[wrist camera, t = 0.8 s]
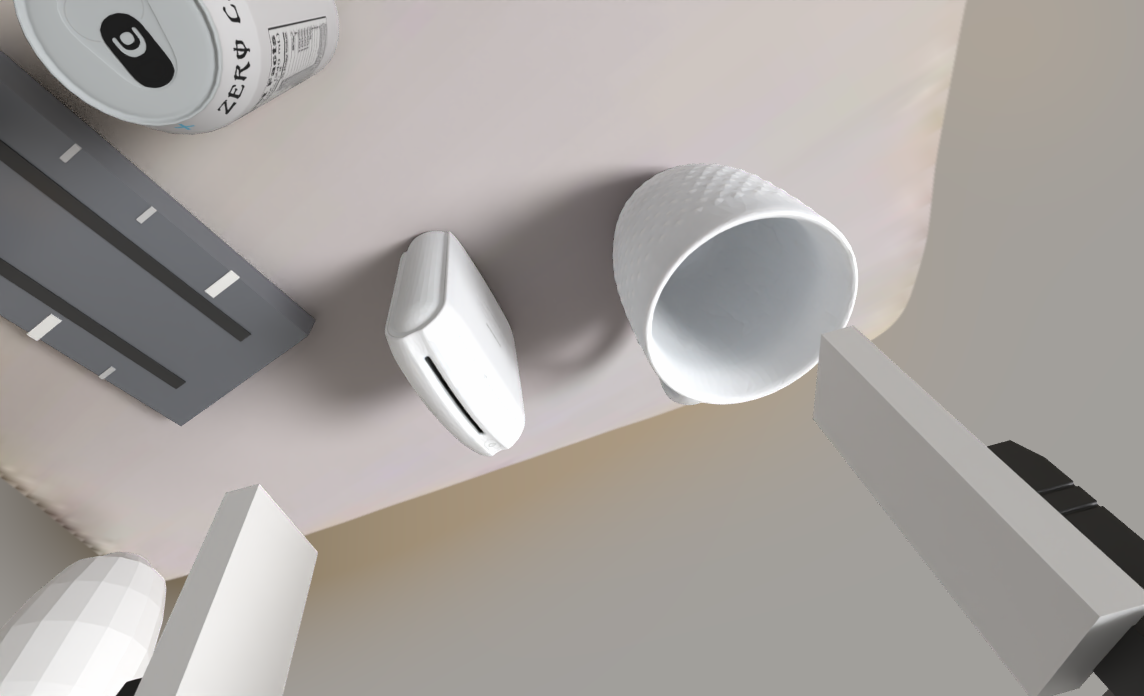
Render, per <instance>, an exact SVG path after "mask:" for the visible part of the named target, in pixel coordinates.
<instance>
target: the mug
mask: <svg viewBox="0 0 1144 696" xmlns="http://www.w3.org/2000/svg"><path fill="white" fill-rule="evenodd" d="M612 258H613V261H614V263H613V269H614V272H615V276H614V279H615V281H616V284H617V291H618V293H619V295H620V298H621V304H622V305H623V307H624V309H625V314H626V316H627V318H628V319H629V321H630V324H631V328H632V330H633V331H634V333H635V335H636V337H637V341H638V343H639V344H640V346H641V347H642V349H643V351H644V353H645V355H646V357H647V359H648V361H649V363H650V365H651V366H652V368H653V370H654V371H655V373H656V374H657V375H658V377H659V379H660V382H661V385H662V387H663V389H664V391H665V393H666V394H667V396H668V397H669V398H670V399H671V400H673V401H674V402H676V403H679V404H685V405H694V404H699V403H701V402H703V403H711V404H733V403H740V402H746V401H750V400H755V399H758V398H760V397H764V396H766V395H769V394H771V393H774V392H776V391H778V390H780V389H782V388H784V387H786V386H787V385H789V384H791V383H793V382H794V381H795V380H797V379H798V378H800V377H801V376H803V375H804V374H805V373H807V372H808V371H809V370H810V369H812V368H813V367H814V366H815V365H816V364H817V363H818V362H819V351H820V341H821V334H824V333H827V332H831V331H835V330H839V329H842V328H845V327H846V325H847V323H848V321H849V318H850V315H851V313H852V310H853V306H854V304H855V299H856V294H857V287H858V270H857V264H856V259H855V256H854V253H853V251H852V248H851V246H850V244H849V243H848V241H847V240H846V238H845V237H844V236H843V234H842V233H841V232H840V231H839V230H838V229H837V228H836V227H835V226H834V225H833V224H831V223H830V222H829V221H828V220H826V219H825V218H823V217H822V216H820V215H819V214H817V213H816V212H814V211H813V210H812V209H811V208H810V207H809V206H806V205H804V204H803V203H802V202H800V201H799V200H798V199H797V198H795V197H793V196H791V195H789V194H787V193H786V192H785V191H784V190H783V189H780V188H778V187H776V186H774V185H773V184H772V183H771V182H769V181H766V180H763V179H761V178H760V177H758V176H757V175H755V174H750V173H747V172H746V171H744V170H743V169H735V168H733V167H730V166H721V165H718V164H704V163H700V164H688V165H685V166H684V165H682V166H677V167H675V168H670V169H667V170H665V171H664V172H661V173H658V174H656V175H655V176H654V177H652V178H651V179H649V180H647V181H645V182H644V183H643V184H642V185H641V186H640V187H639V188H638V189H636V190H635V191H634V193H633V195H632V196H631V197H630V198H629V199H628V200H627V201H626V203H625V206H624V208H623V209H622V211H621V213H620V214H619V220H618V221H617V223H616V230H615V234H614V242H613V255H612Z"/></svg>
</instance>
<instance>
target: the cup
mask: <svg viewBox="0 0 1144 696" xmlns="http://www.w3.org/2000/svg"><path fill="white" fill-rule="evenodd" d="M165 585H166V584H165V579H164V578H163V577H162V576H161V575H160V574H159V573H158V572H157V571H156V570H155V569H153V567H152V565H151V564H150V562H149V561H148V560H147V559H145V558H143V557H142V556H140V555H137V554H133V553H129V552H115V553H110V554H106V555H104V556H97V557H92V558H86V559H81V560H79V561H77V562H75V563H73V564H71V565H70V566H68V567H66V568H65V569H64V570H63V571H61V572H60V573H59V574H58V575H56V576H55V577H54V578H53V579H52V580H50V581H49V582H48V583H47V584H46V585H44V586H43V587H42V588H41V589H39V590H38V591H37V592H36V593H34V594H33V595H32V596H31V597H30V598H29V599H28V600H27V601H26V602H25V604H24V605H23V606H22V607H21V608H20V609H19V610H18V611H17V612H16V613H15V614H14V615H13V616H12V617H11V618H10V619H9V620H8V621H7V622H6V623H5V624H4V626H3V627H2V628H1V629H0V696H116V695H117V693H118V692H119V691H120V689H121V688H122V687H123V686H124V684H125V683H126V682H128V681H131V680H135V679H139V678H142V677H143V675H144V673H145V671H146V668H147V666H148V664H149V662H150V660H151V657H152V655H153V652H154V649H155V645H156V642H157V639H158V635H159V632H160V628H161V625H162V622H163V614H164V605H165V596H166V586H165Z"/></svg>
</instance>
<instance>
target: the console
mask: <svg viewBox="0 0 1144 696" xmlns="http://www.w3.org/2000/svg"><path fill="white" fill-rule="evenodd" d="M0 315H1V316H3V317H4V318H6V319H7V320H9V321H11V322H12V323H14V324H16V325H17V326H19V327H20V328H22V329H24V330H25V331H27V332H29V333H28V334H26V335H28V336H29V337H31V338H33V339H34V340H36V341H38V340H39V339H40V340H42V341H43V342H45V343H46V344H48V345H50V346H51V347H53V348H55V349H56V350H58V351H59V352H61V353H63V354H64V355H66V356H68V357H69V358H71V359H72V360H74V361H76V362H77V363H79V364H81V365H82V366H84V367H85V368H87V369H89V370H90V371H92V372H94V373H95V374H97V375H98V377H99V378H100V379H102V380H103V379H105V380H107V381H108V382H110V383H111V384H113V385H115V386H116V387H118V388H120V389H121V390H123V391H124V392H126V393H128V394H129V395H131V396H133V397H134V398H136V399H138V400H139V401H141V402H142V403H144V404H146V405H147V406H149V407H151V408H152V409H154V410H155V411H157V412H159V413H160V414H162V415H164V416H165V417H167V418H168V419H170V420H172V421H173V422H175V423H177V424H178V425H180V426H182V425H184V424H185V423H186V422H188V421H189V420H191V419H192V418H193V417H195V416H196V415H198V414H199V413H200V412H202V411H203V410H205V409H206V408H207V407H209V406H210V405H212V404H213V403H214V402H216V401H217V400H219V399H220V398H221V397H223V396H224V395H226V394H227V393H228V392H230V391H231V390H233V389H234V388H235V387H237V386H238V385H240V384H241V383H242V382H244V381H245V380H247V379H248V378H249V377H251V376H252V375H254V374H255V373H256V372H258V371H259V370H261V369H262V368H263V367H265V366H266V365H268V364H269V363H270V362H272V361H273V360H275V359H276V358H277V357H279V356H280V355H282V354H283V353H284V352H286V351H287V350H289V349H290V348H291V347H293V346H294V345H296V344H297V343H298V342H300V341H301V340H303V339H304V338H305V337H307V336H308V335H309V333H310V330H311V328H312V326H313V324H314V322H315V319H314V318H312V317H311V316H310V315H309V314H308V313H307V312H305V311H304V310H303V309H302V308H301V307H300V306H298V305H297V304H296V303H295V302H294V301H293V300H291V299H290V298H289V297H288V296H287V295H286V294H284V293H283V292H282V291H281V290H280V289H279V288H277V287H276V286H275V285H274V284H273V283H272V282H270V281H269V280H268V279H267V278H266V277H265V276H263V275H262V274H261V273H260V272H259V271H257V270H256V269H255V268H254V267H253V266H252V265H250V264H249V263H248V262H247V261H246V260H245V259H243V258H242V257H241V256H240V255H239V254H238V253H236V252H235V251H234V250H233V249H232V248H231V247H229V246H228V245H227V244H226V243H225V242H224V241H222V240H221V239H220V238H219V237H218V236H217V235H215V234H214V233H213V232H212V231H211V230H210V229H208V228H207V227H206V226H205V225H204V224H203V223H201V222H200V221H199V220H198V219H197V218H196V217H194V216H193V215H192V214H191V213H190V212H189V211H187V210H186V209H185V208H184V207H183V206H182V205H180V204H179V203H178V202H177V201H176V200H175V199H173V198H172V197H171V196H170V195H169V194H168V193H166V192H165V191H164V190H163V189H162V188H160V187H159V186H158V185H157V184H156V183H155V182H153V181H152V180H151V179H150V178H149V177H148V176H146V175H145V174H144V173H143V172H142V171H141V170H139V169H138V168H137V167H136V166H135V165H134V164H132V163H131V162H130V161H129V160H128V159H127V158H125V157H124V156H123V155H122V154H121V153H120V152H118V151H117V150H116V149H115V148H114V147H113V146H111V145H110V144H109V143H108V142H107V141H106V140H104V139H103V138H102V137H101V136H100V135H99V134H97V133H96V132H95V131H94V130H93V129H92V128H90V127H89V126H88V125H87V124H86V123H85V122H83V121H82V120H81V119H80V118H79V117H78V116H76V115H75V114H74V113H73V112H72V111H71V110H69V109H68V108H67V107H66V106H65V105H64V104H62V103H61V102H60V101H59V100H58V99H56V98H55V97H54V96H53V95H52V94H51V93H49V92H48V91H47V90H46V89H45V88H44V87H42V86H41V85H40V84H39V83H38V82H37V81H35V80H34V79H33V78H32V77H31V76H30V75H28V74H27V73H26V72H25V71H24V70H23V69H21V68H20V67H19V66H18V65H17V64H16V63H14V62H13V61H12V60H11V59H10V58H9V57H7V56H6V55H5V54H4V53H3V52H2V51H0Z"/></svg>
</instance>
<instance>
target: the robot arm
mask: <svg viewBox="0 0 1144 696" xmlns="http://www.w3.org/2000/svg"><path fill="white" fill-rule="evenodd" d="M813 420H814V421H815V422H816V424H817V425H818V426H819V428H820V429H821V430H822V432H823V433H824V434H825V435H826V436H827V438H828V439H829V441H830V442H831V443H832V444H833V446H834V447H835V448H836V449H837V451H838V452H839V453H840V455H841V456H842V457H843V458H844V460H845V461H846V462H847V464H848V465H849V466H850V467H851V469H852V470H853V471H854V472H855V474H856V475H857V476H858V478H859V479H860V480H861V481H862V483H863V484H864V485H865V487H866V488H867V489H868V490H869V492H870V493H871V494H872V496H873V497H874V498H875V499H876V501H877V502H878V503H879V505H880V506H881V507H882V508H883V510H884V511H885V512H886V514H887V515H888V516H889V517H890V519H891V520H892V521H893V522H894V524H895V525H896V526H897V527H898V529H899V530H900V531H901V533H902V534H903V535H904V536H905V538H906V539H907V540H908V542H909V543H910V544H911V546H912V547H913V548H914V549H915V551H916V552H917V553H918V554H919V556H920V557H921V558H922V559H923V561H924V562H925V563H926V565H927V566H928V567H929V568H930V570H931V571H932V572H933V574H934V575H935V576H936V578H937V579H938V580H939V581H940V583H941V584H942V585H943V586H944V588H945V589H946V590H947V592H948V593H949V594H950V595H951V597H952V598H953V599H954V601H955V602H956V603H957V604H958V606H959V607H960V608H961V610H962V611H963V612H964V613H965V615H966V616H967V617H968V618H969V620H970V621H971V622H972V624H973V625H974V626H975V627H976V629H977V630H978V631H979V633H980V634H981V635H982V636H983V638H984V639H985V640H986V642H987V643H988V644H989V645H990V647H991V648H992V649H993V650H994V652H995V653H996V654H997V656H998V657H999V658H1000V659H1001V661H1002V662H1003V663H1004V665H1005V666H1006V667H1007V668H1008V670H1009V671H1010V672H1011V674H1012V675H1013V676H1014V677H1015V679H1016V680H1017V681H1018V682H1019V684H1020V685H1021V686H1022V688H1023V689H1024V690H1025V692H1026V693H1027V694H1028V695H1029V696H1053V695H1056V694H1060V693H1064V692H1067V691H1070V690H1074V689H1077V688H1079V687H1080V686H1081V685H1082V684H1083V683H1084V682H1085V681H1086V680H1087V678H1088V677H1089V676H1090V675H1091V674H1092V673H1093V672H1094V673H1095V674H1096V675H1097V676H1098V677H1099V678H1100V680H1101V681H1102V682H1103V683H1104V684H1105V685H1106V686H1107V687H1108V689H1109V690H1107V692H1105V693H1104V695H1103V696H1144V540H1143V539H1142V538H1140V537H1139V536H1138V535H1137V534H1136V533H1134V532H1133V531H1132V530H1131V529H1130V528H1128V527H1127V526H1126V525H1125V524H1124V523H1122V522H1121V521H1120V520H1119V519H1118V518H1116V517H1115V516H1114V515H1113V514H1112V513H1110V512H1109V511H1108V510H1107V509H1106V508H1105V507H1103V506H1101V507H1100V506H1099V505H1098V504H1097V501H1096V500H1095V499H1094V498H1092V497H1091V496H1090V495H1089V494H1088V493H1087V492H1085V491H1084V490H1083V489H1082V488H1081V487H1079V486H1075V485H1074V484H1073V481H1072V480H1071V479H1070V478H1069V477H1068V476H1066V475H1065V474H1064V473H1062V471H1060V470H1059V469H1058V468H1057V467H1056V466H1054V465H1053V464H1052V463H1051V462H1049V461H1048V460H1047V459H1046V458H1044V457H1043V456H1041V455H1039V454H1037V453H1035V452H1032V451H1031V450H1029V449H1026V448H1024V447H1023V446H1021V445H1019V444H1016V443H1015V442H1013V441H1011V440H1009V441H1006V442H1002V443H998V444H995V445H991V446H987V447H986V446H985V445H984V444H983V443H982V442H981V441H980V440H979V439H977V438H976V437H975V436H974V435H973V434H972V433H971V432H970V431H969V430H968V429H966V428H965V427H964V426H963V425H962V424H961V423H960V422H959V421H958V420H957V419H956V418H954V417H953V416H952V415H951V414H950V413H949V412H948V411H947V410H946V409H945V408H943V407H942V406H941V405H940V404H939V403H938V402H937V401H936V400H935V399H934V398H932V397H931V396H930V395H929V394H928V393H927V392H926V391H925V390H924V389H923V388H921V387H920V386H919V385H918V384H917V383H916V382H915V381H914V380H913V379H912V378H910V377H909V376H908V375H907V374H906V373H905V372H904V371H903V370H902V369H901V368H899V367H898V366H897V365H896V364H895V363H894V362H893V361H892V360H891V359H890V358H888V357H887V356H886V355H885V354H884V353H883V352H882V351H881V350H879V348H877V347H876V346H875V345H874V344H873V343H872V342H871V341H870V340H869V339H868V338H866V337H865V336H864V335H863V334H862V333H861V332H860V331H859V330H858V329H857V328H855V327H854V326H850V327H846V328H842V329H839V330H835V331H831V332H827V333H824V334H821V341H820V351H819V362H818V372H817V382H816V392H815V403H814V412H813ZM317 554H318V552H317V551H316V550H315V548H314V547H313V546H312V545H311V544H310V542H309V541H308V540H307V539H306V538H305V537H304V535H303V534H302V533H301V532H300V531H299V530H298V528H297V527H296V526H295V525H294V524H293V523H292V521H291V520H290V519H289V518H288V517H287V516H286V514H285V513H284V512H283V511H282V510H281V509H280V507H279V506H278V505H277V504H276V503H275V502H274V500H273V499H272V498H271V497H270V496H269V494H268V493H267V492H266V491H265V490H264V489H263V487H262V486H261V485H260V484H257V485H253V486H249V487H245V488H242V489H238V490H234V491H230V492H227V493H226V494H225V496H224V498H223V500H222V502H221V505H220V507H219V509H218V511H217V514H216V516H215V518H214V520H213V522H212V525H211V527H210V529H209V531H208V533H207V536H206V538H205V540H204V542H203V544H202V547H201V549H200V551H199V553H198V556H197V558H196V560H195V562H194V564H193V567H192V569H191V571H190V573H189V575H188V578H187V580H186V582H185V585H184V587H183V589H182V591H181V593H180V595H179V598H178V600H177V602H176V605H175V607H174V609H173V611H172V613H171V615H170V618H169V620H168V622H167V624H166V626H165V629H164V631H163V633H162V635H161V637H160V640H159V642H158V644H157V646H156V648H155V651H154V653H153V655H152V657H151V660H150V662H149V664H148V666H147V668H146V671H145V673H144V675H143V677H142V678H139V679H135V680H131V681H128V682H126V683H125V684H124V686H123V687H122V688H121V689H120V691H119V692H118V693H117V695H116V696H283V692H284V688H285V683H286V679H287V675H288V672H289V667H290V663H291V659H292V655H293V651H294V647H295V643H296V639H297V635H298V631H299V627H300V623H301V619H302V615H303V611H304V607H305V603H306V599H307V595H308V591H309V586H310V582H311V579H312V574H313V570H314V566H315V562H316V558H317Z"/></svg>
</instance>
